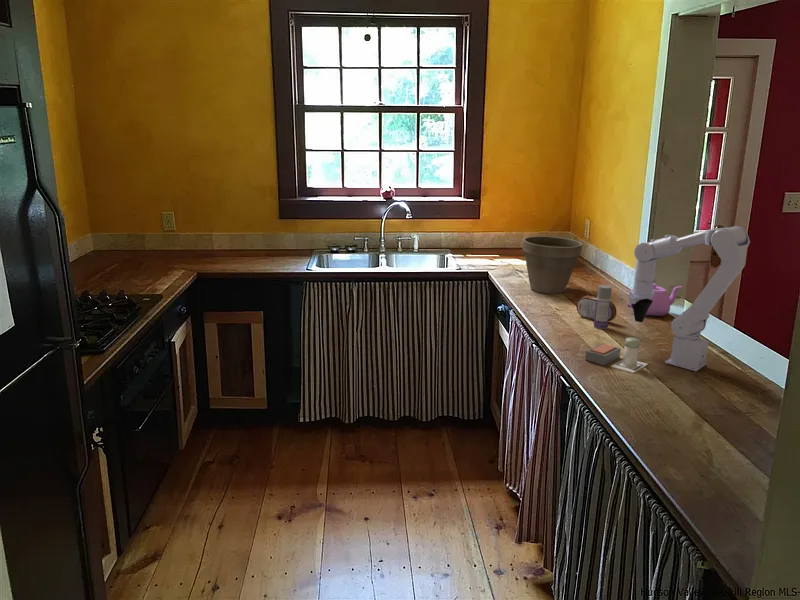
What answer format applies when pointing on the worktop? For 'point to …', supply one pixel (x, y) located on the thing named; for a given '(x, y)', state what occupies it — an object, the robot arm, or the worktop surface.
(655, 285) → the teapot
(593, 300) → the tin
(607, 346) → the button
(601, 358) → the button housing
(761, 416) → the worktop surface
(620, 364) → the paper sheet
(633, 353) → the marker
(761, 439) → the worktop surface
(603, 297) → the container
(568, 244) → the plant pot
